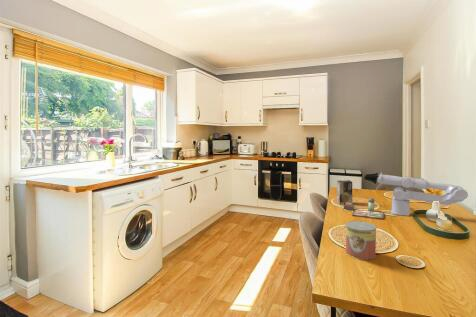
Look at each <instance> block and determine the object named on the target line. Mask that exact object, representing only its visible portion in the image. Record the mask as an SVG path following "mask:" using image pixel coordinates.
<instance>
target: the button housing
mask: <svg viewBox="0 0 476 317" xmlns="http://www.w3.org/2000/svg"><path fill="white" fill-rule="evenodd" d="M354 208H355V204H352V206H346V204H343V210H344V209H346V210H345V211H351V210H355V209H354Z"/></svg>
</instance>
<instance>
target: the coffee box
mask: <svg viewBox="0 0 476 317" xmlns="http://www.w3.org/2000/svg"><path fill="white" fill-rule="evenodd" d="M336 183H337V184H336V202H337V201H338V202H339V203H352V204H353V181H352V180H350V179H346V180H345V179H344V180H341V179H340V180H337V181H336ZM338 202H337V203H338ZM339 203H338V204H339Z"/></svg>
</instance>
